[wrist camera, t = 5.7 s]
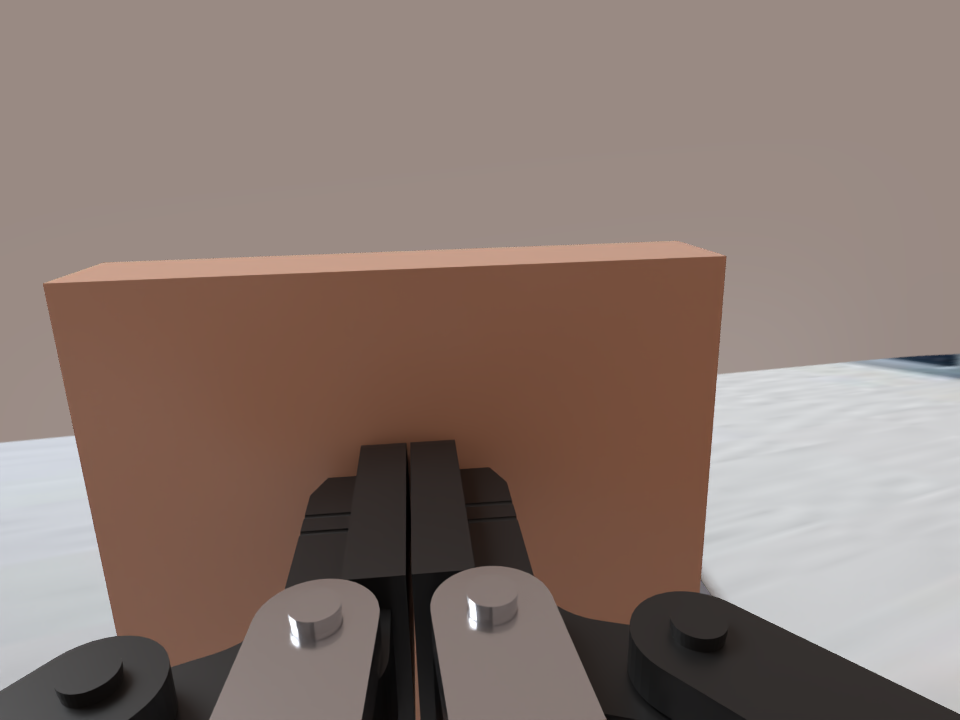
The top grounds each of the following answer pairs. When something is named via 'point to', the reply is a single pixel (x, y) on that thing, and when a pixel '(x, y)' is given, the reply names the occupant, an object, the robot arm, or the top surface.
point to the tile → (389, 412)
